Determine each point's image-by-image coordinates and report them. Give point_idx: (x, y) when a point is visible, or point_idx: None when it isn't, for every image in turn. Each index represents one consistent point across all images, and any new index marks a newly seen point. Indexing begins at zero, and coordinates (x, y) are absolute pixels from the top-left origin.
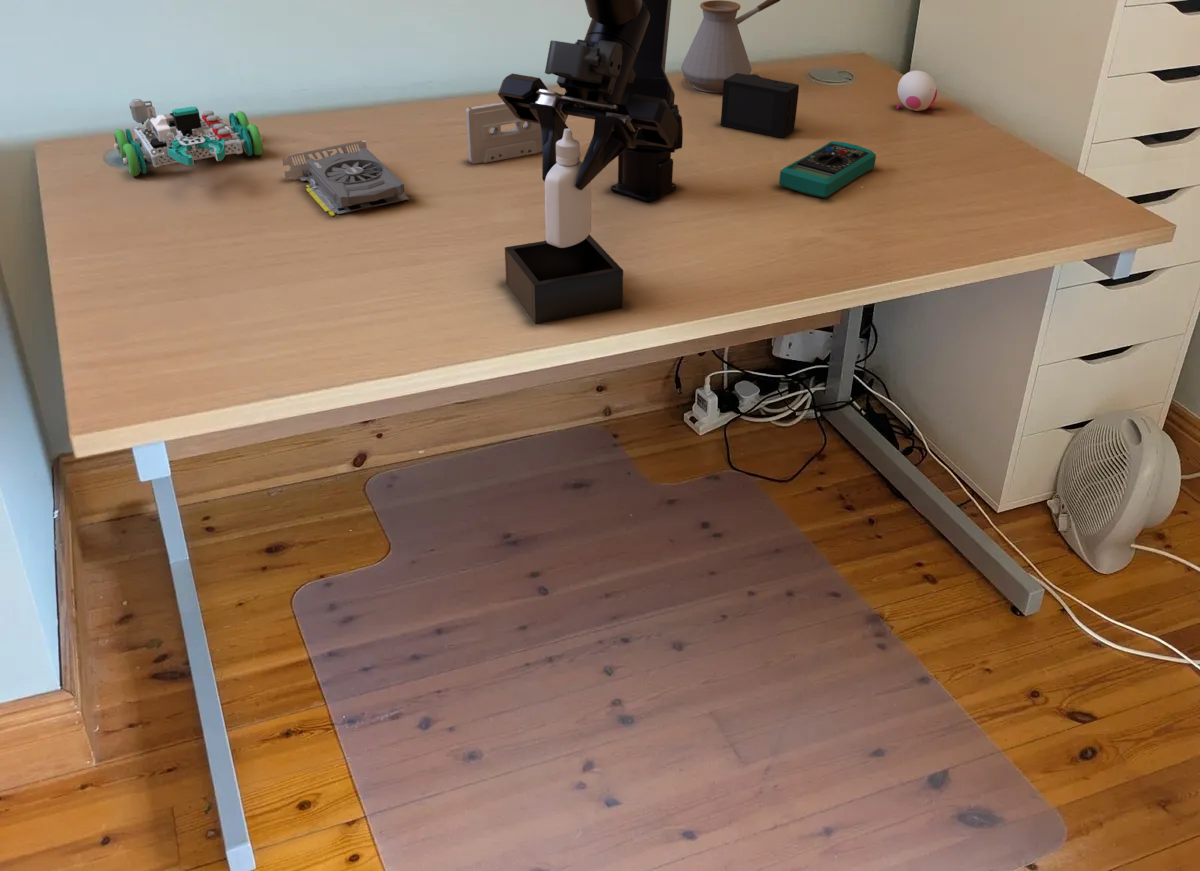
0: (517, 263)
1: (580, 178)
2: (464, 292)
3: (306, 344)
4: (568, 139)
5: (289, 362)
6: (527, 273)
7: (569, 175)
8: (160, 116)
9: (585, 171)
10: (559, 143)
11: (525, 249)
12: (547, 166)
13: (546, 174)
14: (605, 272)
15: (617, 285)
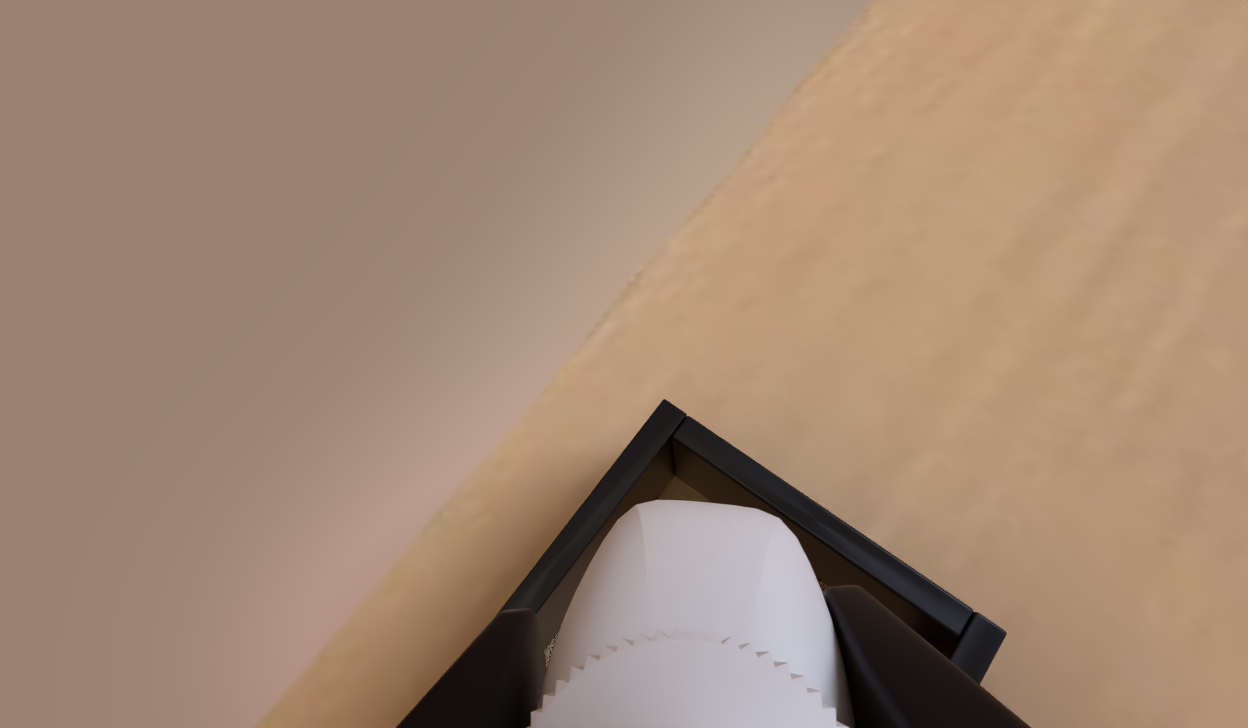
0: (840, 519)
1: (483, 642)
2: (1010, 497)
3: (1089, 63)
4: None
5: (1041, 4)
6: (746, 464)
7: (581, 608)
8: None
9: (432, 699)
10: (757, 694)
11: None
12: (873, 653)
13: (837, 607)
14: None
15: None
